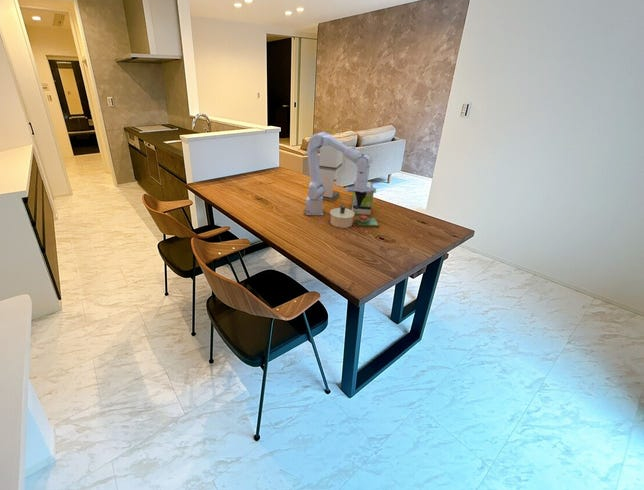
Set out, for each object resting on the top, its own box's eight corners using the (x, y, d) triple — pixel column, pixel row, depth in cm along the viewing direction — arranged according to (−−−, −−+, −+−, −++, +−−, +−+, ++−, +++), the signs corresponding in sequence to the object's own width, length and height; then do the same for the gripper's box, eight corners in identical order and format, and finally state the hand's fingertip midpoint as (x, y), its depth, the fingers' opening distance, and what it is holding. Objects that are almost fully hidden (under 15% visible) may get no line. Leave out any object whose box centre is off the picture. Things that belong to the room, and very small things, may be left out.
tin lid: (334, 220, 147) (335, 212, 145) (326, 210, 158) (327, 202, 156) (358, 218, 149) (359, 210, 147) (348, 208, 160) (349, 201, 158)
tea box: (370, 215, 163) (374, 190, 157) (352, 214, 165) (354, 189, 159) (368, 204, 176) (371, 181, 170) (351, 203, 178) (353, 180, 172)
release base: (357, 226, 151) (358, 221, 150) (355, 219, 158) (356, 214, 157) (378, 227, 150) (379, 222, 149) (374, 220, 158) (375, 215, 156)
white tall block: (333, 201, 182) (338, 143, 167) (317, 198, 187) (320, 142, 172) (338, 194, 191) (343, 140, 177) (323, 192, 196) (326, 138, 181)
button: (360, 220, 152) (360, 217, 151) (359, 217, 155) (359, 214, 154) (367, 220, 152) (367, 217, 151) (365, 217, 155) (366, 215, 154)
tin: (334, 228, 149) (335, 219, 147) (327, 219, 160) (327, 209, 157) (356, 226, 151) (357, 217, 149) (347, 217, 161) (348, 208, 159)
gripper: (348, 182, 142) (345, 207, 147) (379, 182, 140) (375, 208, 146) (346, 177, 148) (343, 202, 154) (375, 178, 147) (372, 203, 153)
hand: (358, 205), depth 150 cm, fingers closed
